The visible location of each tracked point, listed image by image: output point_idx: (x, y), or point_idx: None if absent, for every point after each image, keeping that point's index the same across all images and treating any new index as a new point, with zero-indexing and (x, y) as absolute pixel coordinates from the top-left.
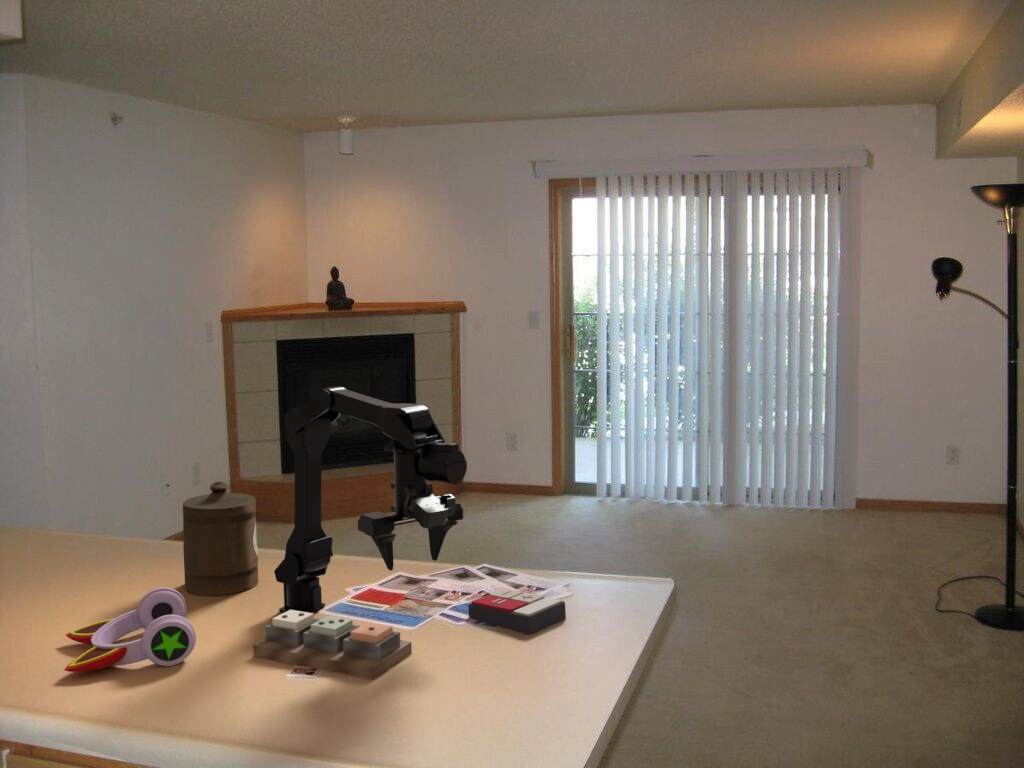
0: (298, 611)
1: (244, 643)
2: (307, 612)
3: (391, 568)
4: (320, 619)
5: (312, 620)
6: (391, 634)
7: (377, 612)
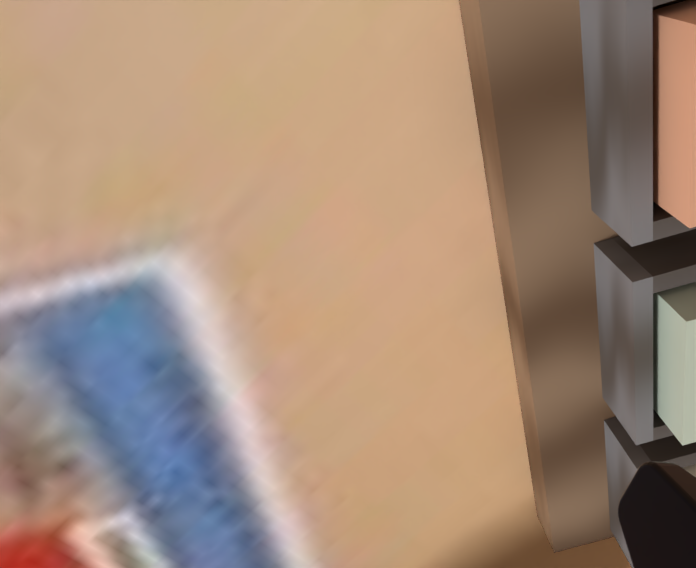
0: None
1: None
2: None
3: (687, 476)
4: None
5: None
6: (677, 12)
7: (167, 502)
